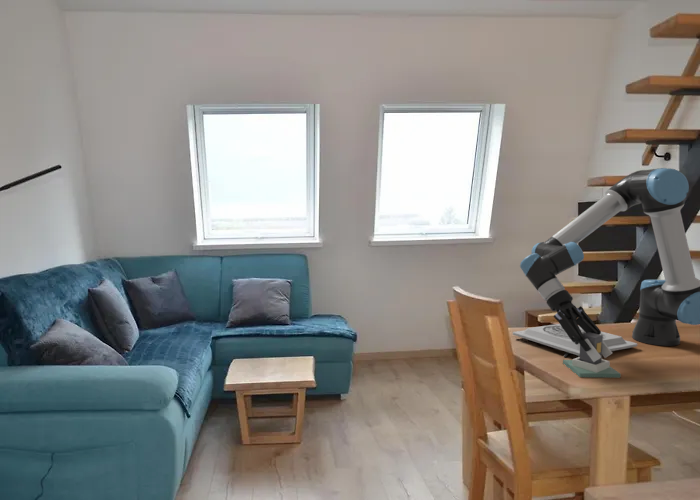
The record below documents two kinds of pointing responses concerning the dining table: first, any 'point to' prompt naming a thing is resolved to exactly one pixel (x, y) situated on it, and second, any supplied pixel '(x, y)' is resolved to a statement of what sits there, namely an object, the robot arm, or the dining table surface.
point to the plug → (597, 343)
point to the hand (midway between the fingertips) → (603, 357)
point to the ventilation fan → (561, 340)
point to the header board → (592, 374)
